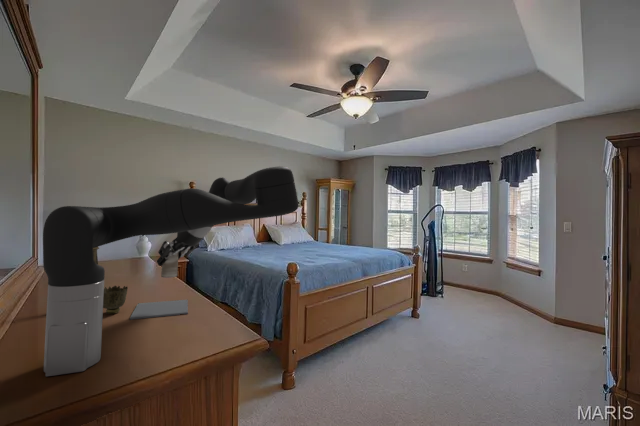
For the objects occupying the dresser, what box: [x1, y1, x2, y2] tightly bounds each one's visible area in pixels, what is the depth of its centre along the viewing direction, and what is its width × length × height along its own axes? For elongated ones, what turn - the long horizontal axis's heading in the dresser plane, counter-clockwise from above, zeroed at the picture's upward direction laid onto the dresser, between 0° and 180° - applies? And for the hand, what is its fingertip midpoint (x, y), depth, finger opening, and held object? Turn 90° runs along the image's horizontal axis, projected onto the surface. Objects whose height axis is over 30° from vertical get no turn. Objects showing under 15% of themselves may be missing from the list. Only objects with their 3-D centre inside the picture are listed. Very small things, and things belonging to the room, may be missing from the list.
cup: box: [103, 285, 128, 315], centre depth 95 cm, size 8×7×8 cm
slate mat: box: [129, 299, 189, 321], centre depth 100 cm, size 16×16×1 cm
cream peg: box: [161, 248, 179, 279], centre depth 99 cm, size 5×5×10 cm
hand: (165, 262), depth 99 cm, fingers closed on cream peg, 4 cm apart
